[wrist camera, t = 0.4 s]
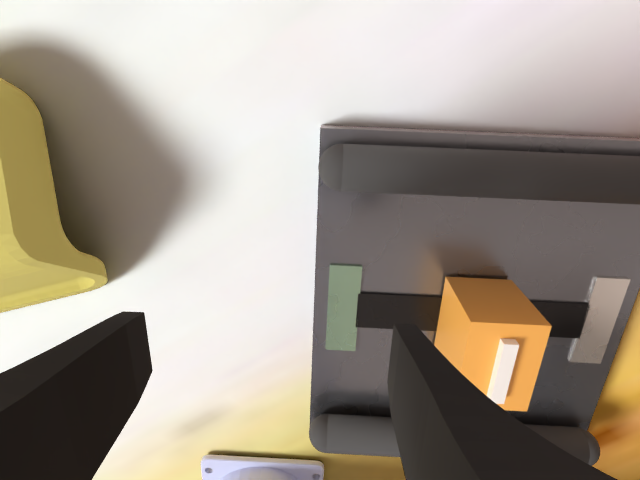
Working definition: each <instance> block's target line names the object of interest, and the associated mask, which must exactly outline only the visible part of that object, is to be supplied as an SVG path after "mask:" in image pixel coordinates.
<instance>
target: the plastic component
mask: <svg viewBox="0 0 640 480" xmlns="http://www.w3.org/2000/svg"><path fill="white" fill-rule="evenodd" d="M107 282H108V279H107V274H106V268H105V266H104V263H103V262H102V261H101V260H100V259H98V258H97V257H95V256H92V255H89V254H86V253H83V252H80V251H78V250H77V249H76V248H75V247H74V246H73V245H72V244H71V243H70V241H69V240H68V239H67V237H66V235H65V233H64V231H63V228H62V225H61V222H60V216H59V210H58V205H57V199H56V193H55V188H54V182H53V176H52V171H51V165H50V159H49V154H48V148H47V143H46V137H45V131H44V126H43V120H42V117H41V115H40V112H39V110H38V108H37V107H36V105H35V104H34V102H33V100H32V99H31V98H30V97H29V96H28V95H27V94H26V93H25V92H23V91H22V90H20V89H19V88H17V87H16V86H14V85H12V84H10V83H9V82H7V81H5V80H3V79H2V78H0V313H1V312H6V311H10V310H14V309H18V308H22V307H26V306H30V305H34V304H39V303H43V302H47V301H51V300H55V299H59V298H63V297H67V296H72V295H76V294H80V293H84V292H88V291H92V290H94V289H97V288H100V287H102V286H103V285H105V284H106V283H107Z"/></svg>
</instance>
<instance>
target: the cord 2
mask: <svg viewBox="0 0 640 480" xmlns="http://www.w3.org/2000/svg"><path fill="white" fill-rule="evenodd" d="M319 174H320V177H321V179H322V181H323V182H324V184H325V185H327V186H328V187H329V188H331V189H333V190H336V191H344V192H366V193H389V194H412V195H434V196H457V197H479V198H502V199H525V200H547V201H570V202H593V203H615V204H638V205H640V156H623V155H600V154H576V153H552V152H529V151H505V150H481V149H457V148H434V147H410V146H386V145H362V144H337V145H333V146H331V147H329V148H328V149H327V150H326V151H325V152H324V153H323V154H322V156H321V158H320V161H319Z"/></svg>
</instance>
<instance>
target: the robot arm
mask: <svg viewBox="0 0 640 480" xmlns="http://www.w3.org/2000/svg"><path fill="white" fill-rule="evenodd" d="M151 373H152V364H151V357H150V350H149V343H148V336H147V329H146V322H145V315H144V312H121V313H119V314H116V315H114V316H112V317H110V318H108V319H106V320H104V321H102V322H100V323H99V324H97V325H95V326H93V327H91V328H89V329H87V330H85V331H84V332H82V333H80V334H78V335H76V336H74V337H72V338H71V339H69V340H67V341H65V342H63V343H61V344H59V345H57V346H56V347H54V348H52V349H50V350H48V351H46V352H44V353H42V354H40V355H38V356H36V357H34V358H32V359H30V360H27V361H25V362H23V363H21V364H19V365H17V366H15V367H13V368H11V369H9V370H7V371H5V372H2V373H0V480H92V478H93V477H94V475H95V473H96V472H97V470H98V468H99V467H100V465H101V463H102V462H103V460H104V459H105V457H106V455H107V454H108V452H109V450H110V449H111V447H112V446H113V444H114V442H115V441H116V439H117V437H118V436H119V434H120V433H121V431H122V429H123V428H124V426H125V424H126V423H127V421H128V419H129V418H130V416H131V414H132V413H133V411H134V409H135V408H136V406H137V404H138V402H139V400H140V398H141V396H142V394H143V392H144V389H145V387H146V385H147V382H148V380H149V378H150V375H151ZM387 384H388V394H389V403H390V412H391V418H392V422H393V427H394V431H395V435H396V440H397V444H398V448H399V452H400V457H401V461H402V465H403V469H404V474H405V478H406V480H617V479H615V478H613V477H611V476H609V475H607V474H605V473H603V472H601V471H600V470H598V469H596V468H594V467H592V466H591V465H589V464H587V463H585V462H583V461H582V460H580V459H578V458H576V457H574V456H573V455H571V454H569V453H568V452H566V451H564V450H563V449H561V448H559V447H558V446H556V445H555V444H553V443H551V442H550V441H548V440H547V439H545V438H544V437H542V436H541V435H539V434H538V433H536V432H535V431H533V430H532V429H530V428H528V427H527V426H526V425H524V424H523V423H521V422H520V421H519V420H517V419H516V418H514V417H513V416H512V415H510V414H509V413H508V412H506V411H505V410H504V409H503V408H501V407H500V406H499V405H497V404H496V403H495V402H493V401H492V400H491V399H490V398H489V397H487V396H486V395H485V394H484V393H483V392H481V391H480V390H479V389H478V388H477V387H476V386H475V385H474V384H473V383H471V382H470V381H469V380H468V379H467V378H466V377H465V376H464V375H463V374H462V373H461V372H460V371H459V370H457V369H456V368H455V367H454V366H453V365H452V364H451V363H450V362H449V360H448V359H447V358H446V357H445V356H444V355H443V354H442V353H441V352H440V351H439V350H438V349H437V348H436V347H435V346H434V345H433V343H432V342H431V341H430V340H429V339H428V338H427V337H426V336H425V335H424V333H423V332H422V331H421V330H420V329H419V328H418V327H417V326H416V325H415V324H394V326H393V335H392V344H391V352H390V361H389V370H388V379H387ZM201 472H202V480H324V464H323V463H322V462H320V461H316V460H298V459H280V458H262V457H244V456H226V455H205V456H204V457H203V458H202V461H201Z"/></svg>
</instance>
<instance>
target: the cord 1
mask: <svg viewBox="0 0 640 480" xmlns="http://www.w3.org/2000/svg"><path fill="white" fill-rule="evenodd" d="M524 425H526V426H527V427H528V428H530V429H532V430H533V431H535V432H536V433H538V434H539V435H541V436H542V437H544V438H545V439H547V440H548V441H550V442H551V443H553V444H555V445H556V446H558V447H559V448H561V449H563V450H564V451H566V452H568V453H569V454H571V455H573V456H574V457H576V458H578V459H580V460H582V461H583V462H585V463H587V464H589V465H591V466H592V465H594V464H595V463H596V462H597V461H598V459H599V456H600V447H599V444H598V442H597V440H596V439H595V437H594V436H593V435H592V434H590V433H589V432H588V431H586V430H584V429H582V428H578V427H567V426H548V425H529V424H524ZM309 437H310V441H311V443H312V445H313V446H314V447H315V448H316V449H317V450H318V451H320V452H323V453H335V454H353V455H371V456H389V457H400V452H399V448H398V444H397V440H396V435H395V431H394V427H393V422H392V418H391V417H380V416H361V415H343V414H322V415H319V416H318V417H316V418H315V419H314V420H313V422H312V423H311V426H310V429H309Z"/></svg>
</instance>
